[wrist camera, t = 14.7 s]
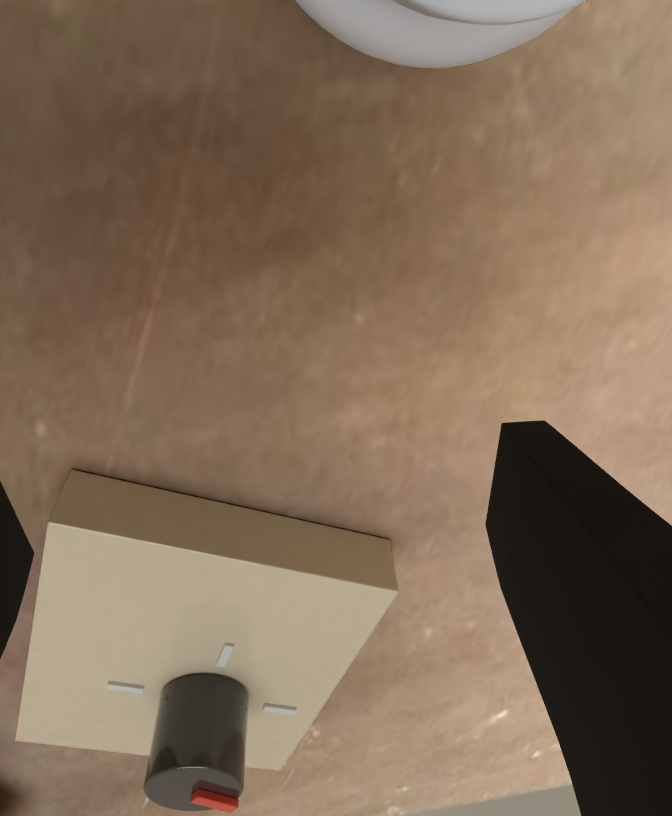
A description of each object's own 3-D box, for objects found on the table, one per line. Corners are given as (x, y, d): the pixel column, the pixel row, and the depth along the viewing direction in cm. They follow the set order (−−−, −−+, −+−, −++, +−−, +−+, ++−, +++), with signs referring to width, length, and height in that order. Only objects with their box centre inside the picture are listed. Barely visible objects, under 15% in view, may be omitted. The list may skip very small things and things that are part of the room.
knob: (143, 705, 25) (123, 807, 22) (189, 663, 24) (173, 767, 21) (219, 728, 27) (209, 828, 24) (266, 690, 25) (262, 791, 22)
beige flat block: (70, 468, 21) (45, 526, 19) (390, 539, 24) (400, 595, 22) (34, 686, 28) (12, 745, 26) (281, 719, 31) (280, 774, 29)
